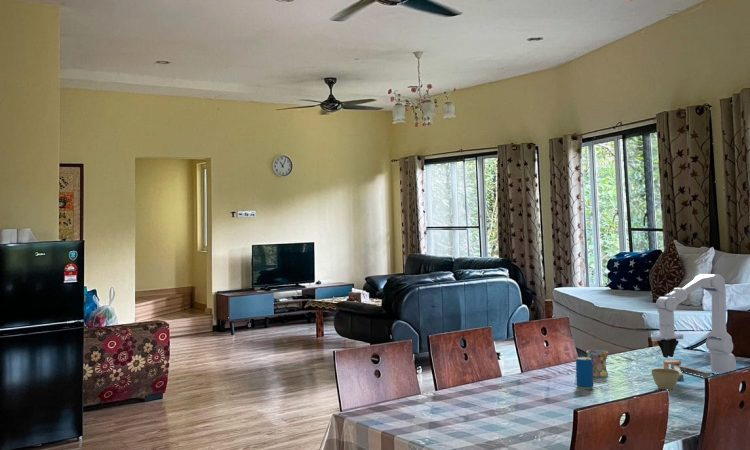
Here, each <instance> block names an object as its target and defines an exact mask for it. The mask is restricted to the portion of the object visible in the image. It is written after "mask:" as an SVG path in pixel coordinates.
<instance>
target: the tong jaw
mask: <svg viewBox="0 0 750 450" xmlns="http://www.w3.org/2000/svg"><path fill="white" fill-rule="evenodd" d="M674 370H676V371H678V372H679V376H678V380H684V374H683V372H681V370H680V368H679V367H674Z"/></svg>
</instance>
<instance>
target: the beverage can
mask: <svg viewBox="0 0 750 450" xmlns="http://www.w3.org/2000/svg"><path fill="white" fill-rule="evenodd" d="M575 373H576V374H575V375H576V387H578V389H582V390H591V389H592V388H593V387H594V376H593V362H592V360H591V358H589V357H587V356H578V357H576V360H575Z"/></svg>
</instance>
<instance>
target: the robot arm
mask: <svg viewBox="0 0 750 450" xmlns="http://www.w3.org/2000/svg"><path fill="white" fill-rule="evenodd" d="M725 282H726V279H725V278H724V277H723V276H722V275H721V274H719V273H717V274H714V273H713V274H712V273H710V274H709V273H702V272H701V273H698V275H695V276H694V278H693V280H691V281H689V282H688V283H687V284H685V286H683V287H674V288H673V290H672V291H670V292H669V293H666V294H665V295H664V296H659V297H658V298H657V299H656V301H655V302H656V303H654V305H655V308H656V309H657V314H658V318H659V319H658V321H659V323H658V324H659V334H656V335H651V337H650V338H651V342H656V343H657V345H658V347H659V349H660V351H661V354H662V357H663V358H674V354H675V351H676V348H677V346H678V344H679V340H684V334H682V333H677V334H676V333H675V313H674V312H675V310H676V309H677V308H678V305H680V304H681V303H682V302H684V301H685V300H687V299H688V295H690V294H691V293H694V292H695V291H697V290H699V289H700V288H701V289H703V290H704V291H707V292H708V293H709V294H710V295H711V330H710V332H708V333H707V336H706V337H707V338H706V340H705V347H706V349H707V350H708V353H710V371H712V372H716V373H719V374H720V373H725V372H729V371H734V370H736V371H737V362H736V356H735V355H734V354H733V353H732V352H733V351H734V343H733V339H732V336H731V335H730V334H729V333H728V332H727V290H726V283H725ZM715 375H716V376H718V375H717V374H715Z"/></svg>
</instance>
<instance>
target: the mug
mask: <svg viewBox="0 0 750 450" xmlns="http://www.w3.org/2000/svg"><path fill="white" fill-rule="evenodd" d="M586 355H587V356H586V357H589V358H591V360H592V362H593V378H595V377H596V378H604V377H607V376H609V373H608V369H607V359H608V358H607V357H608V355H609V351H607V350H601V349H589V350H586Z"/></svg>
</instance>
